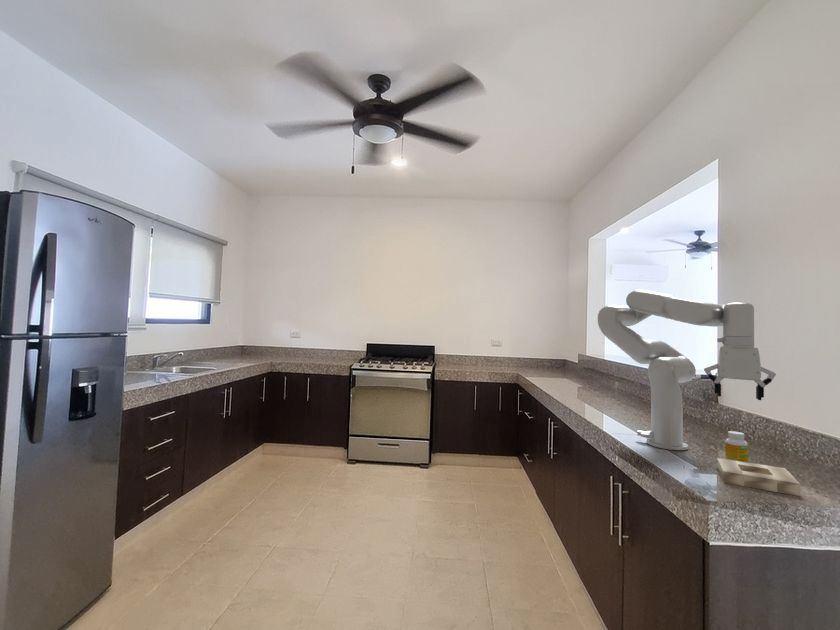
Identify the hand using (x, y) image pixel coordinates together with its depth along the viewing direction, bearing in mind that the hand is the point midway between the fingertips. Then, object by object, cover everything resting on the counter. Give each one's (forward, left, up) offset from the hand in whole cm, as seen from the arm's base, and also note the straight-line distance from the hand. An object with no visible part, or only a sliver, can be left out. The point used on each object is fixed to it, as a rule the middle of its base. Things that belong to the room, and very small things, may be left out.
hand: (738, 397), depth 120 cm
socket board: (+1, -16, -20) cm, 26 cm away
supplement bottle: (-1, -1, -21) cm, 21 cm away
